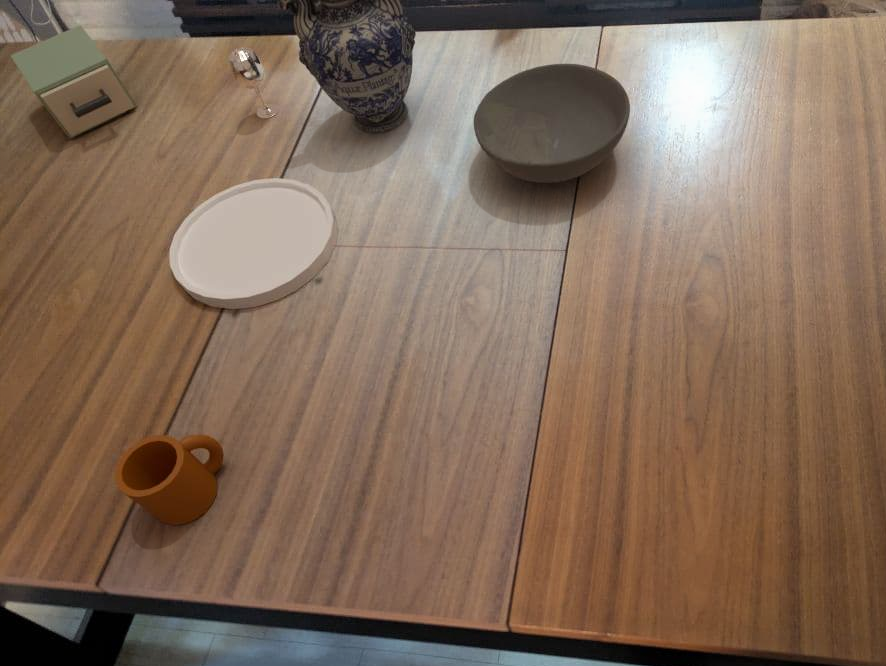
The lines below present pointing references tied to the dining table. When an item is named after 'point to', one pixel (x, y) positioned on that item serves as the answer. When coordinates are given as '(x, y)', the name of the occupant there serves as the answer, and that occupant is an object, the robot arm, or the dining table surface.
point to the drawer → (87, 100)
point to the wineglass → (251, 76)
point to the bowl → (552, 121)
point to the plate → (253, 243)
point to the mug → (170, 476)
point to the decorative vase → (358, 56)
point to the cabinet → (61, 64)
